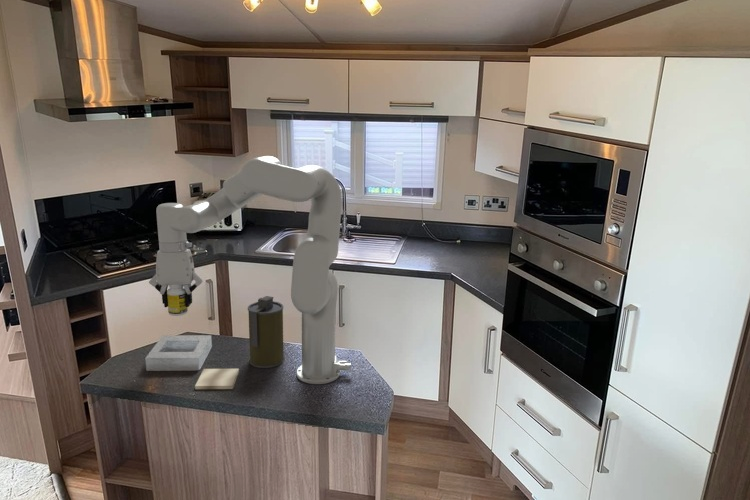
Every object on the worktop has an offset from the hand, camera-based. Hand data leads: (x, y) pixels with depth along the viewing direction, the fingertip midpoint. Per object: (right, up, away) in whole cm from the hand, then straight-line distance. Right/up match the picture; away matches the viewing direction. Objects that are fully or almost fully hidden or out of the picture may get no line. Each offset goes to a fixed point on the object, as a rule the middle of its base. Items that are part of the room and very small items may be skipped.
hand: (177, 305), depth 159 cm
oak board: (+14, -20, -8) cm, 26 cm away
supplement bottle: (0, -3, +1) cm, 3 cm away
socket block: (-1, -17, +4) cm, 17 cm away
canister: (+25, -18, +4) cm, 31 cm away
